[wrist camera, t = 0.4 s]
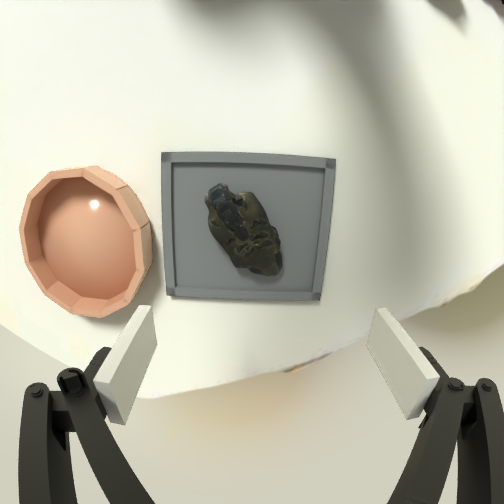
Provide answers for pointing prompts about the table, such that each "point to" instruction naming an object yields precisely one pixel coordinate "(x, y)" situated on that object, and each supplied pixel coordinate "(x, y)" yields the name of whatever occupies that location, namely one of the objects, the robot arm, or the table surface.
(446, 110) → the table surface
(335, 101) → the table surface
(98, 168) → the bowl
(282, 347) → the table surface
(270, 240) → the stone
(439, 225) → the table surface
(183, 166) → the tray
